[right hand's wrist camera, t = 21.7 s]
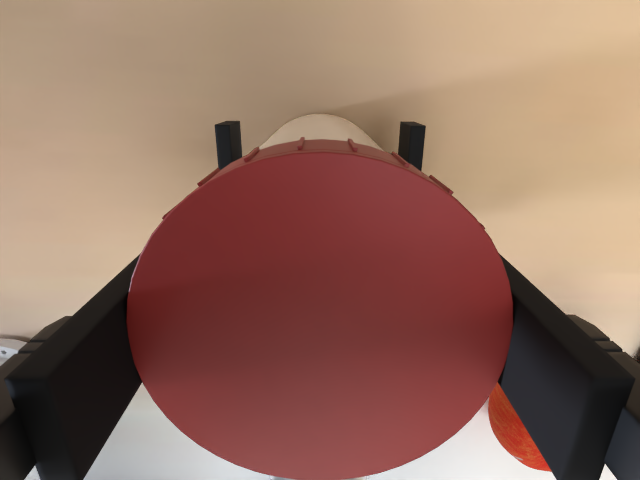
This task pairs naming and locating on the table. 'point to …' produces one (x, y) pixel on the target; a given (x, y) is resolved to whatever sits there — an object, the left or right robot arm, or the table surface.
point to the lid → (319, 312)
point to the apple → (513, 431)
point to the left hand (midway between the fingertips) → (320, 123)
